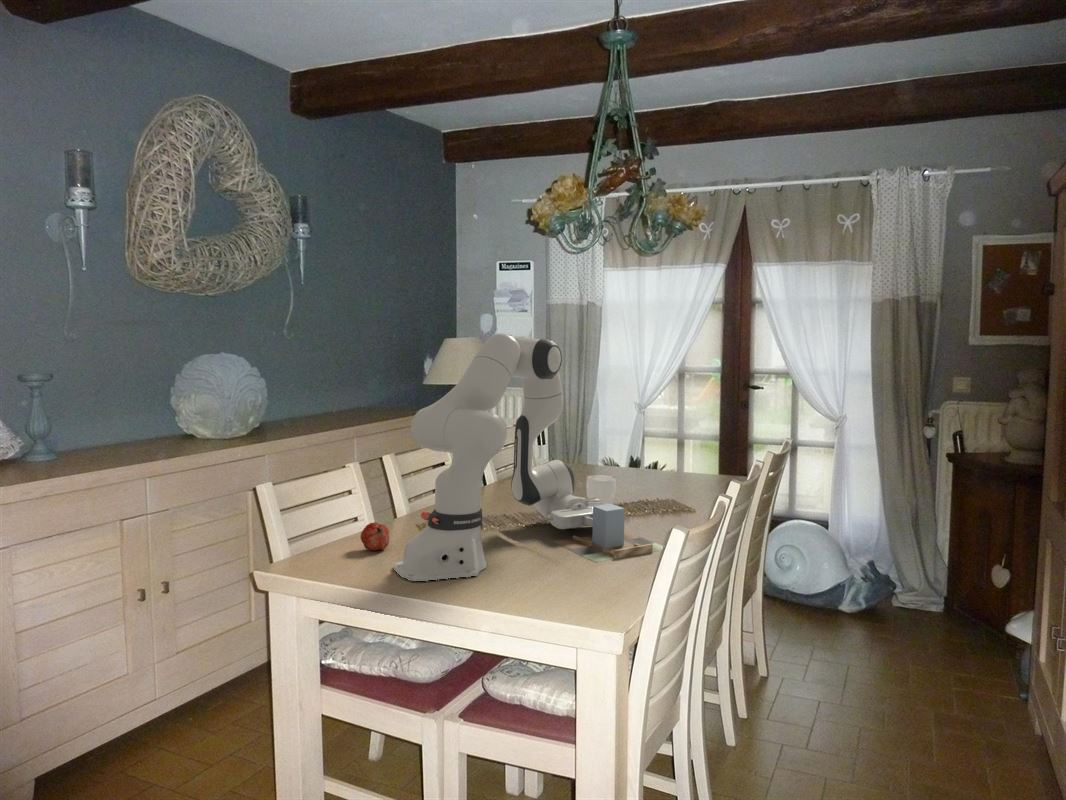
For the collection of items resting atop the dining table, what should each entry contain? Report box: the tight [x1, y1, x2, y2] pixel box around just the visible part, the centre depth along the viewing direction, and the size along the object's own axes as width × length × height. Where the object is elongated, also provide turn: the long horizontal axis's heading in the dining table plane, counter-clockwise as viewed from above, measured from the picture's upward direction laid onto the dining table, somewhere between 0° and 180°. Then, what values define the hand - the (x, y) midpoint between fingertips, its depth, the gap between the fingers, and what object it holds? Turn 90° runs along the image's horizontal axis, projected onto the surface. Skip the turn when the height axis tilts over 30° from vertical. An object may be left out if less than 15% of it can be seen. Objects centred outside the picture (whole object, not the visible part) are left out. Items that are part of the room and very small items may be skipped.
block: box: [591, 503, 626, 548], centre depth 209 cm, size 6×6×10 cm
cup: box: [585, 474, 616, 505], centre depth 243 cm, size 9×9×12 cm
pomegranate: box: [360, 522, 390, 551], centre depth 205 cm, size 7×7×10 cm
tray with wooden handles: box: [553, 530, 664, 563], centre depth 209 cm, size 24×20×3 cm
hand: (601, 523), depth 212 cm, fingers closed
